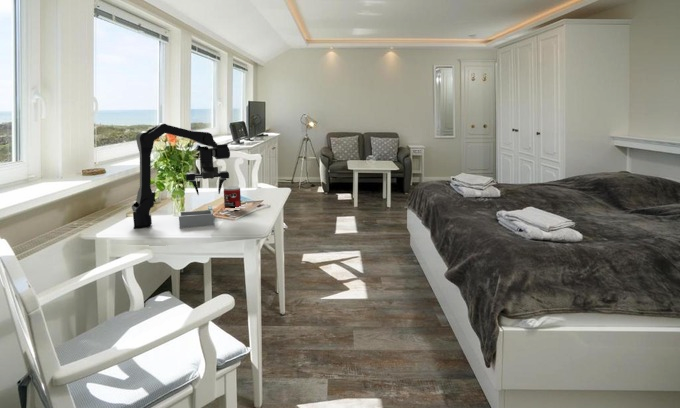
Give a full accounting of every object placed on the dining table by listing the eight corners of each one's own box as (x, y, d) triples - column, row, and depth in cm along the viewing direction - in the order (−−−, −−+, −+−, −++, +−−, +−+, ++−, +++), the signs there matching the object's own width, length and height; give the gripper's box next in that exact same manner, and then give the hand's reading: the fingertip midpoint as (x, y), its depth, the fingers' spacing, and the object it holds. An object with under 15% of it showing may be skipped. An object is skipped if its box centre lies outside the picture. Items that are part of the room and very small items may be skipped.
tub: (179, 228, 199) (178, 216, 198) (179, 223, 208) (178, 212, 207) (214, 225, 204) (213, 214, 203) (212, 220, 212) (211, 209, 211)
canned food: (221, 210, 232) (220, 188, 230) (232, 207, 239) (231, 186, 236) (233, 212, 228) (232, 189, 226) (244, 209, 235) (243, 187, 233)
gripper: (184, 163, 203) (187, 199, 206) (229, 161, 209) (231, 196, 212) (184, 160, 213) (187, 194, 217) (227, 158, 219) (228, 191, 222)
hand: (208, 194), depth 217 cm, fingers open, 9 cm apart
